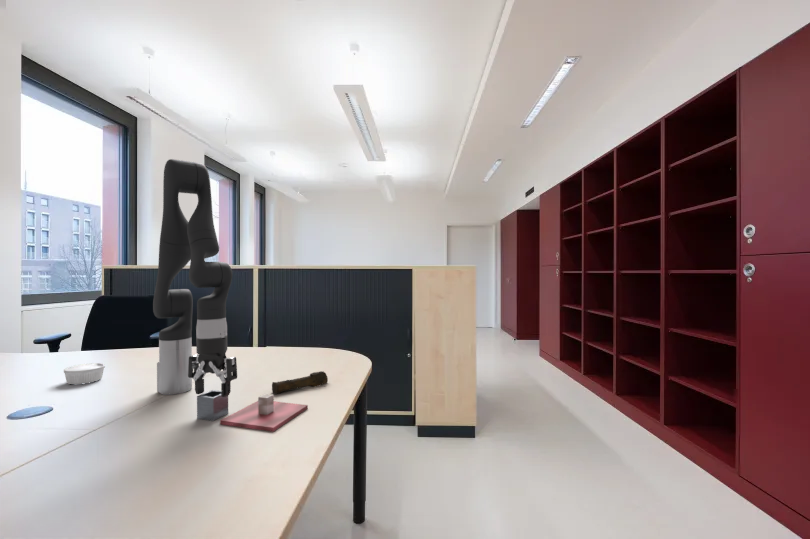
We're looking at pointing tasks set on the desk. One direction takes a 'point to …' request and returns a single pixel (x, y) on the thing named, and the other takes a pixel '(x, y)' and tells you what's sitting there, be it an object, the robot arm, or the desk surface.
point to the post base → (264, 414)
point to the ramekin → (84, 373)
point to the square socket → (211, 405)
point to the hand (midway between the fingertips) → (212, 394)
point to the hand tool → (300, 382)
